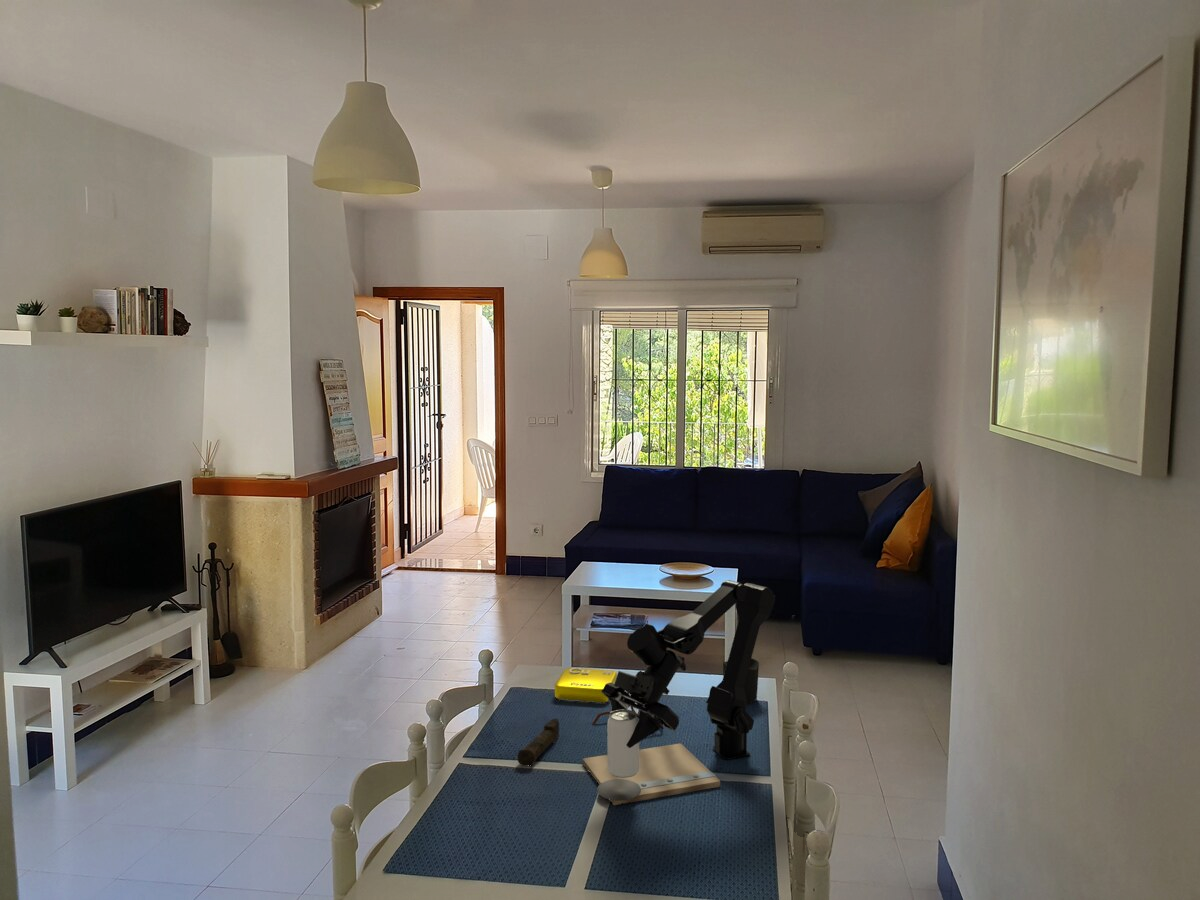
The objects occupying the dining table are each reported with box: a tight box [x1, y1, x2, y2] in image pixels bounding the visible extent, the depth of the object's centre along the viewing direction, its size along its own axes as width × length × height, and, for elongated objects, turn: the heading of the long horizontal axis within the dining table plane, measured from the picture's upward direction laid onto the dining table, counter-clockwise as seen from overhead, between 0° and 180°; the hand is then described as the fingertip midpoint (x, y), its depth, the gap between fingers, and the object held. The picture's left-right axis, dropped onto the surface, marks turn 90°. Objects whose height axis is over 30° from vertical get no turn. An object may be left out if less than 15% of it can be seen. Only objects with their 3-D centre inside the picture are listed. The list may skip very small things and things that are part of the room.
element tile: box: [554, 667, 618, 702], centre depth 241 cm, size 15×15×5 cm
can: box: [606, 709, 640, 778], centre depth 181 cm, size 6×6×12 cm
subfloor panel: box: [582, 742, 721, 806], centre depth 191 cm, size 26×21×1 cm
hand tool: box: [517, 718, 560, 767], centre depth 205 cm, size 19×4×5 cm, turn 158°
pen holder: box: [722, 657, 760, 705], centre depth 236 cm, size 9×9×10 cm
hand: (618, 741), depth 180 cm, fingers closed on can, 6 cm apart
